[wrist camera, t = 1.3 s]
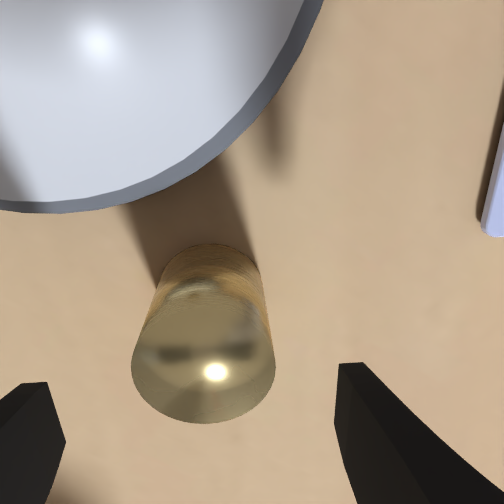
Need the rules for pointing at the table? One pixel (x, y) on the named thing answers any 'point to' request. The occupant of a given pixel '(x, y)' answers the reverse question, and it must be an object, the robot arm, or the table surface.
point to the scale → (132, 92)
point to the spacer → (205, 338)
